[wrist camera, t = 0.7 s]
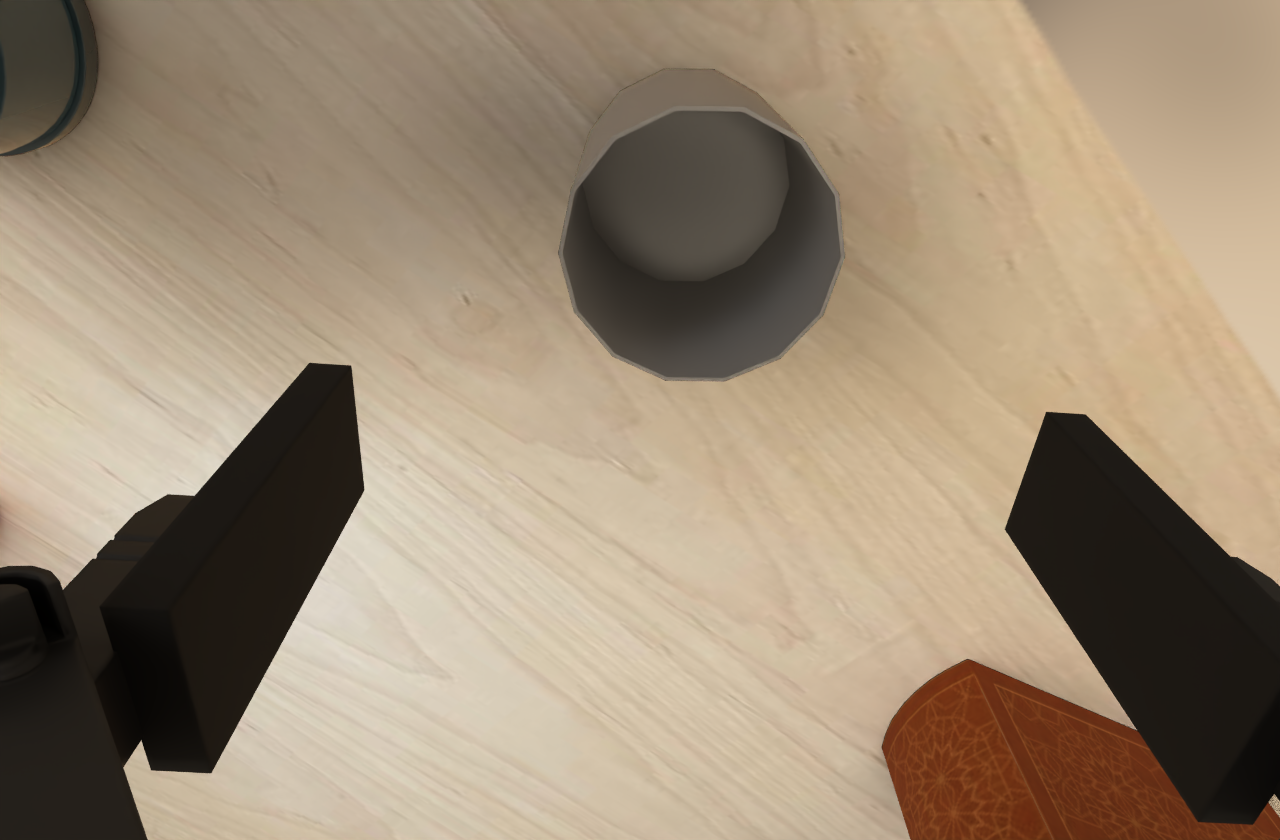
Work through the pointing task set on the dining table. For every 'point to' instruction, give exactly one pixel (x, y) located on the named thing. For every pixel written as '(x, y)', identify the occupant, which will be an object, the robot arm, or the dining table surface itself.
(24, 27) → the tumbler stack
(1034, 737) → the book
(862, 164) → the dining table surface
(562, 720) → the dining table surface
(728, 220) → the cup
